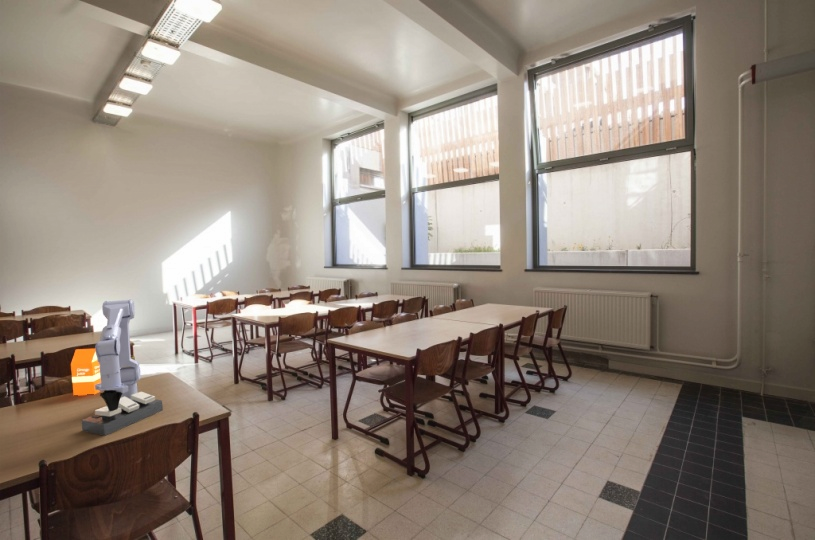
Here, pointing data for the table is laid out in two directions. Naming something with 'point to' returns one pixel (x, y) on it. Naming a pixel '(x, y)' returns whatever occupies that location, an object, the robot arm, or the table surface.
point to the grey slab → (120, 418)
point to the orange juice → (85, 372)
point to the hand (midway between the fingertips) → (113, 410)
